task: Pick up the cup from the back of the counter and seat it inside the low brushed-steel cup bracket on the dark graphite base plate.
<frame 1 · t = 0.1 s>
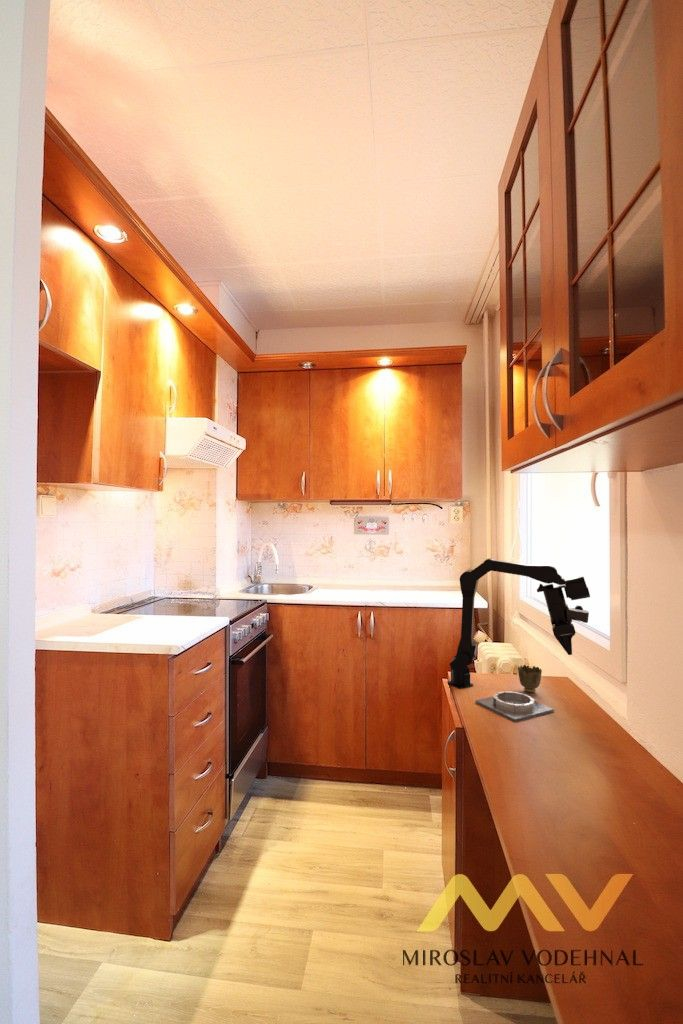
hand: (569, 651, 153), 15 cm above the worktop, tool pointing down, fingers open, 9 cm apart
cup: (529, 692, 159), on the worktop
cup bracket: (513, 707, 146), on the worktop
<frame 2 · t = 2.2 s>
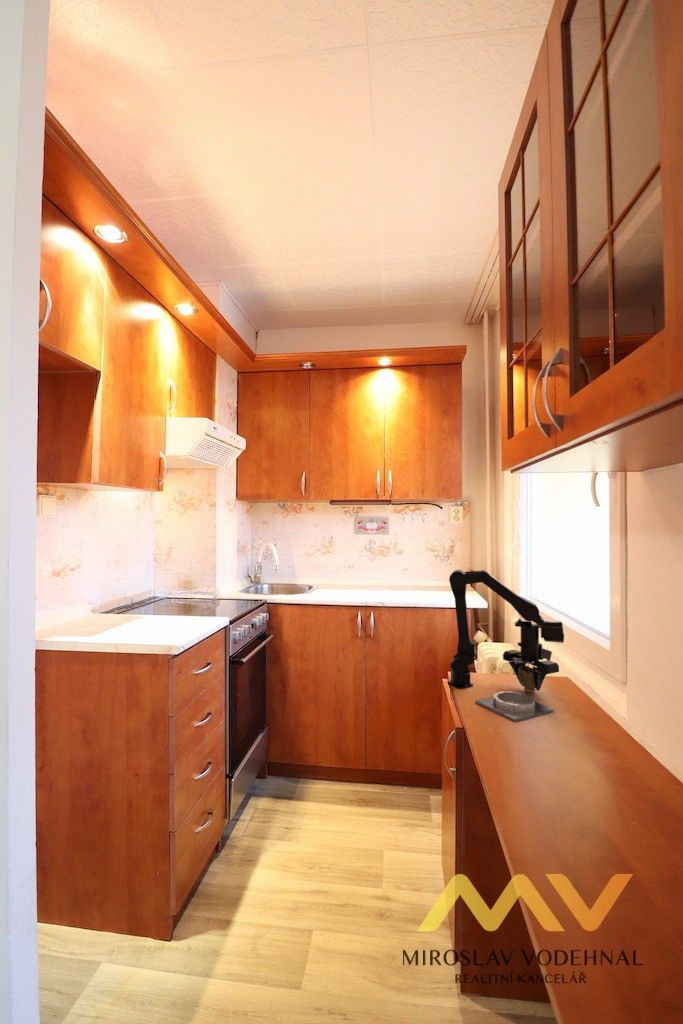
hand: (529, 687, 159), 2 cm above the worktop, tool pointing down, fingers closed on cup, 6 cm apart
cup: (529, 692, 159), on the worktop, touching gripper
when the fingers open (4 cm above the worktop, at t = 6.7 s): cup drops 2 cm, resting on cup bracket.
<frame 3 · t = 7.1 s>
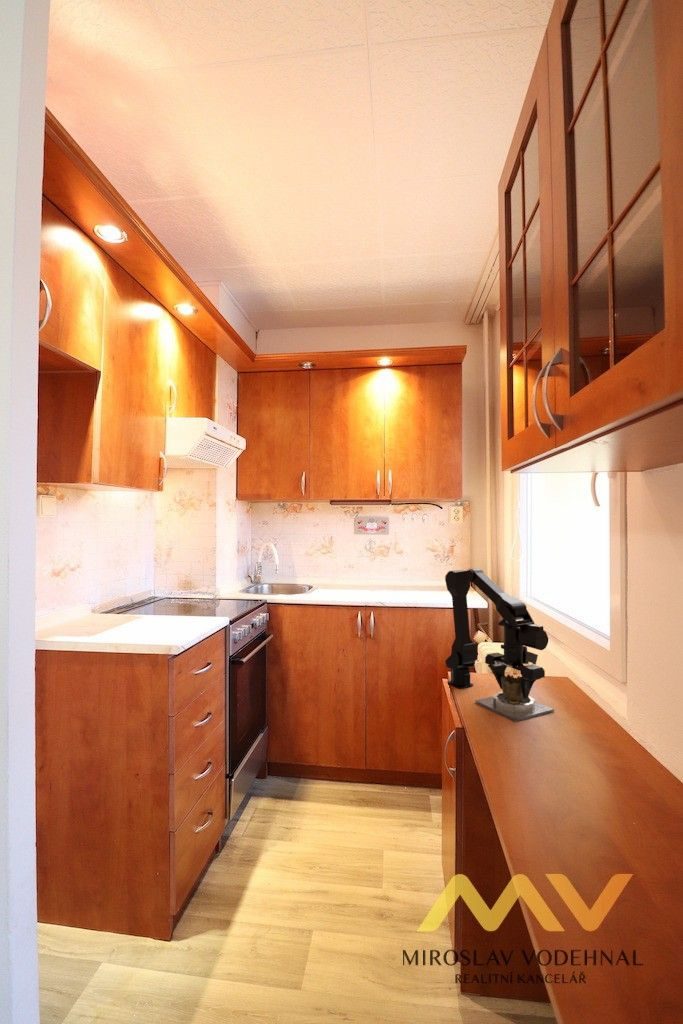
hand: (513, 693, 146), 4 cm above the worktop, tool pointing down, fingers open, 9 cm apart
cup: (513, 705, 146), point 1 cm above the worktop, touching cup bracket
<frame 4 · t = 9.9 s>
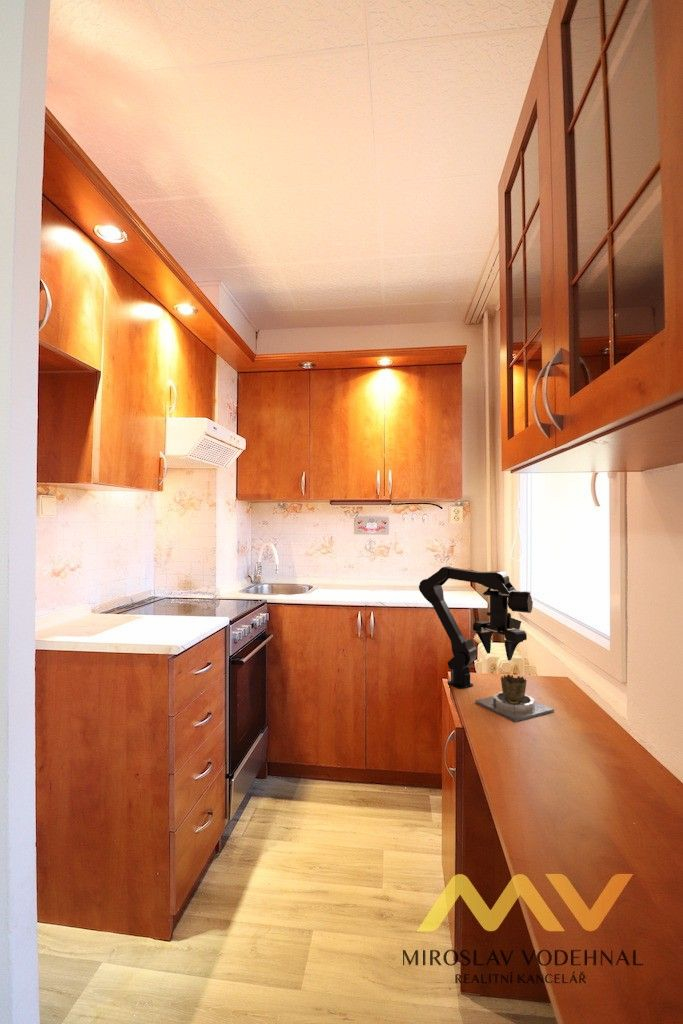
hand: (498, 656, 158), 12 cm above the worktop, tool pointing down, fingers open, 9 cm apart
nothing on the worktop moved.
at the end: cup 0.1 cm off-centre on the cup bracket, point 0.6 cm above the cup bracket's base; cup tilted 0°; the gripper is holding nothing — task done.
